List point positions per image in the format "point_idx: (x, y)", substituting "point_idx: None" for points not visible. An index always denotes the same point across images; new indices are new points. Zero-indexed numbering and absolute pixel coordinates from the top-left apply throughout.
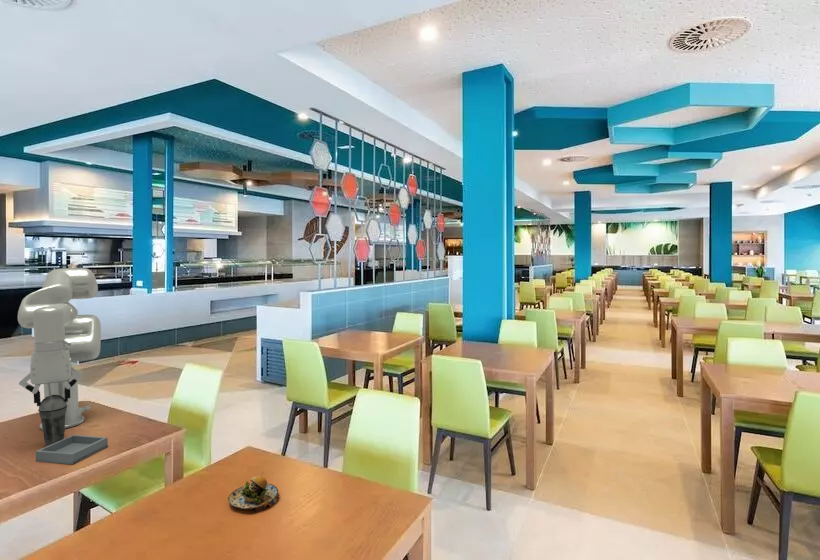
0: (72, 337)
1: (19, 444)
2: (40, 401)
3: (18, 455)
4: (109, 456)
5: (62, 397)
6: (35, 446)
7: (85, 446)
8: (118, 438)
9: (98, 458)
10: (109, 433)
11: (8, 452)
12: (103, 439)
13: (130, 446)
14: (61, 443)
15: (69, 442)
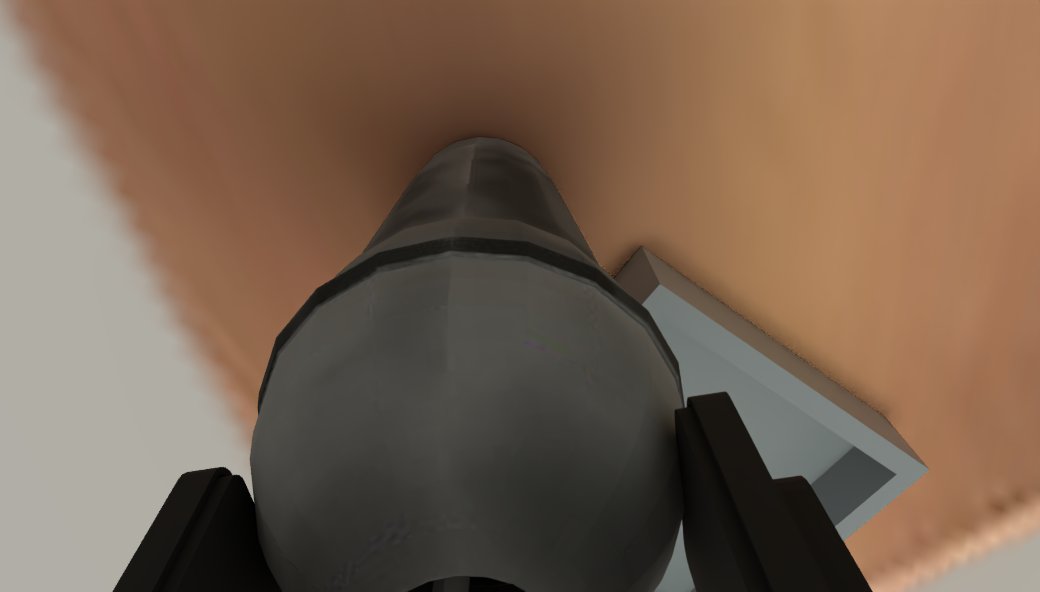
0: None
1: (123, 17)
2: (228, 498)
3: (261, 323)
4: (874, 571)
5: (653, 546)
6: (318, 158)
7: (743, 409)
8: (987, 268)
9: None
10: (943, 84)
11: (134, 216)
12: (894, 498)
13: (1023, 470)
14: None
15: None
